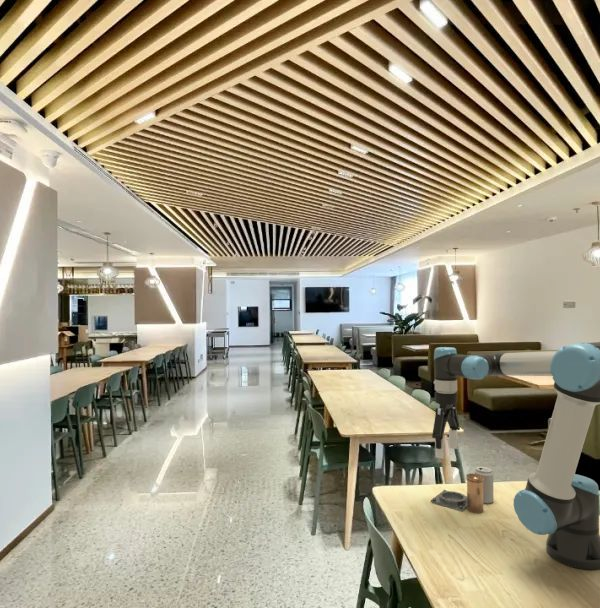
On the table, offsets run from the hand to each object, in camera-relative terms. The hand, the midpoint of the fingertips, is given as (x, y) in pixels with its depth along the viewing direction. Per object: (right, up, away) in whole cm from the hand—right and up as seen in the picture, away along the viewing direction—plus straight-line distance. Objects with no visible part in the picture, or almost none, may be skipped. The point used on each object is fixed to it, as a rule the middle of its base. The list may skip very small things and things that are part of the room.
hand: (446, 453), depth 161 cm
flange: (+6, -22, +11) cm, 25 cm away
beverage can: (+18, -22, +11) cm, 30 cm away
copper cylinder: (+11, -22, +4) cm, 25 cm away
